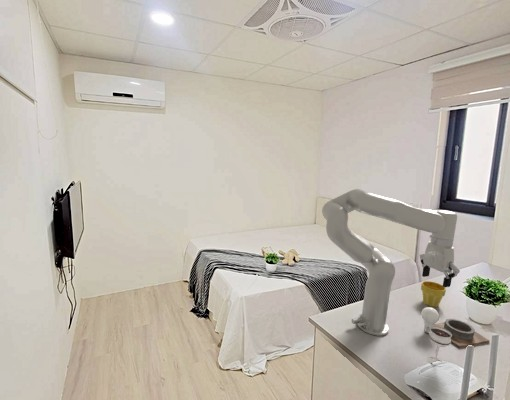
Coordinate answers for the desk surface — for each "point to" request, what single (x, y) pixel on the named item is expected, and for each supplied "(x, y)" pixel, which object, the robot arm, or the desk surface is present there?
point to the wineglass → (439, 339)
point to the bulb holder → (462, 333)
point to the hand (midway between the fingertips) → (435, 281)
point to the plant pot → (432, 293)
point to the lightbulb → (429, 318)
